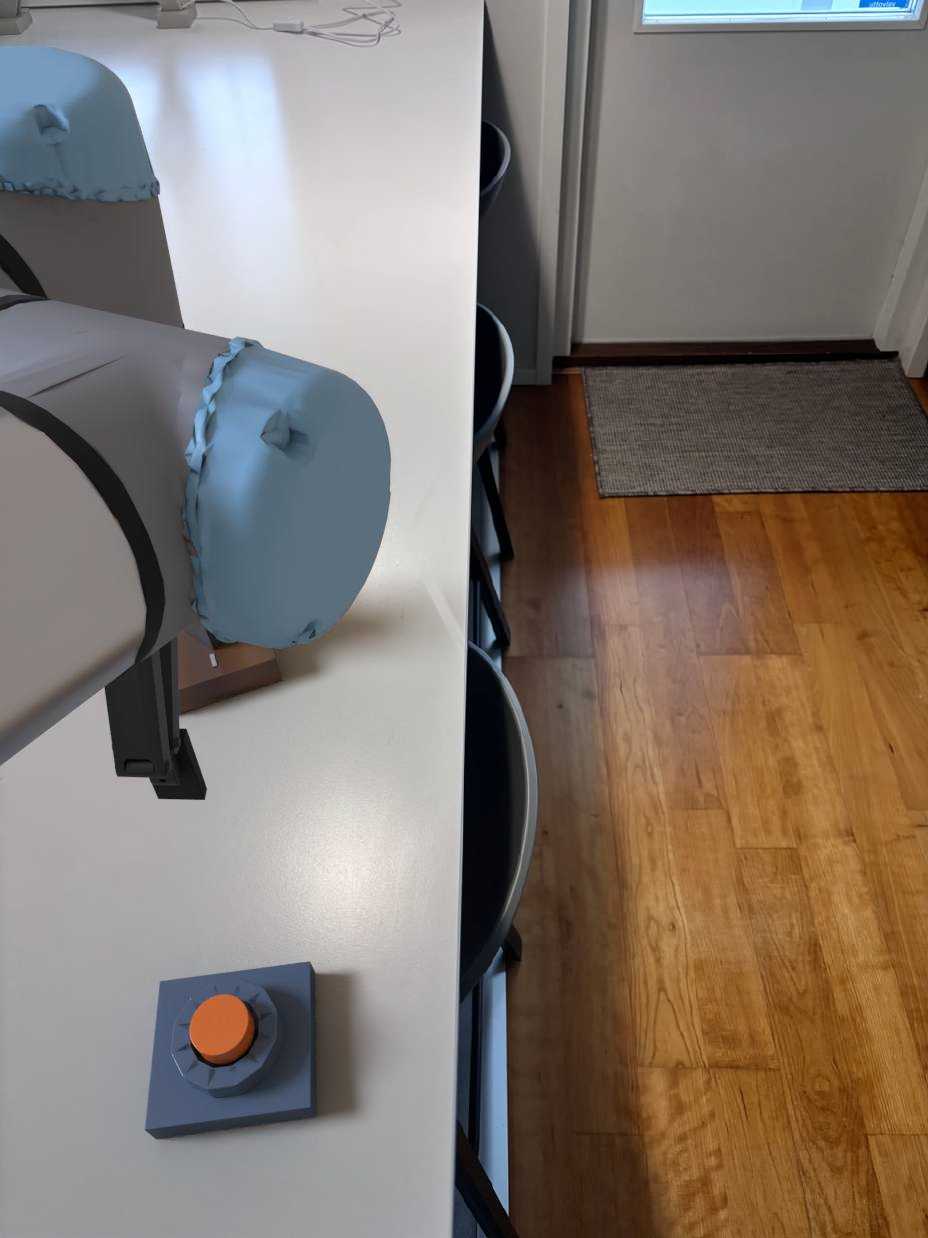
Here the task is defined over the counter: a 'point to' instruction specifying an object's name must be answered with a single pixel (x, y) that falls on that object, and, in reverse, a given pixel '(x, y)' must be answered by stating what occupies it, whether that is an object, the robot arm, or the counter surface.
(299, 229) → the counter surface
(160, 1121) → the button box
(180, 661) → the dock
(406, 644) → the counter surface
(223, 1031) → the button
